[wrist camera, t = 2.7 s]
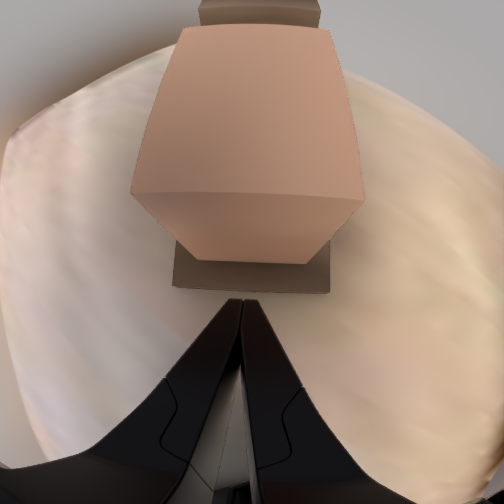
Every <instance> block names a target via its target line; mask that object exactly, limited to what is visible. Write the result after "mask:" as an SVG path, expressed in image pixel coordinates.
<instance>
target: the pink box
mask: <svg viewBox="0 0 504 504" xmlns="http://www.w3.org/2000/svg"><path fill="white" fill-rule="evenodd" d="M130 194H131V195H132V196H133V197H134V198H135V199H136V200H137V201H138V202H139V203H140V204H141V205H142V206H143V207H144V208H145V209H146V210H147V211H148V212H149V213H150V214H151V215H152V216H153V217H154V218H155V219H156V220H157V221H158V222H159V223H160V224H161V225H162V226H163V227H164V228H165V229H166V230H167V231H168V232H169V233H170V234H171V235H172V236H173V237H174V238H175V239H176V240H177V241H178V242H179V243H180V244H182V245H183V246H184V247H185V248H186V249H187V250H188V251H189V252H190V253H191V254H192V255H193V256H194V257H195V258H196V259H197V260H211V261H235V262H260V263H286V264H306V263H307V262H308V261H309V260H310V259H311V258H312V257H313V256H314V255H315V254H316V253H317V252H318V251H319V250H320V249H321V248H322V247H323V246H324V244H325V243H326V242H327V241H328V240H329V239H330V238H331V237H332V236H333V235H334V234H335V233H336V232H337V231H338V229H339V228H340V227H341V226H342V225H343V224H344V223H345V222H346V221H347V220H348V219H349V217H350V216H351V215H352V214H353V213H354V212H355V211H356V210H357V209H358V207H359V206H360V205H361V204H362V203H363V202H364V201H365V196H364V187H363V179H362V172H361V165H360V158H359V152H358V146H357V140H356V134H355V129H354V123H353V118H352V114H351V109H350V104H349V100H348V95H347V91H346V87H345V83H344V79H343V75H342V71H341V67H340V64H339V60H338V57H337V53H336V50H335V47H334V43H333V40H332V37H331V34H330V31H329V30H325V29H318V28H311V27H302V26H291V25H276V24H222V25H207V26H196V27H187V28H184V29H183V31H182V33H181V36H180V38H179V40H178V42H177V45H176V47H175V49H174V52H173V54H172V56H171V59H170V61H169V64H168V66H167V69H166V71H165V74H164V77H163V79H162V82H161V85H160V87H159V90H158V93H157V96H156V99H155V102H154V105H153V108H152V111H151V114H150V117H149V120H148V124H147V127H146V130H145V134H144V137H143V141H142V144H141V148H140V152H139V156H138V160H137V164H136V168H135V172H134V176H133V181H132V185H131V190H130Z"/></svg>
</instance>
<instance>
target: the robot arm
mask: <svg viewBox="0 0 504 504" xmlns="http://www.w3.org/2000/svg"><path fill="white" fill-rule="evenodd" d="M240 365H241V385H242V398H243V411H244V423H245V435H246V446H247V457H248V468H249V478H250V481H249V482H246V483H243V484H240V485H237V486H234V487H226V488H223V489H219V490H216V491H214V489H215V485H216V480H217V476H218V471H219V467H220V462H221V458H222V453H223V448H224V444H225V439H226V435H227V430H228V425H229V421H230V416H231V411H232V406H233V402H234V397H235V392H236V387H237V383H238V378H239V372H240ZM165 377H166V378H163V379H162V380H161V382H160V383H159V384H158V385H157V386H156V388H155V389H154V390H153V391H152V392H151V393H150V394H149V395H148V396H147V398H146V399H145V400H144V401H143V402H142V403H141V404H140V405H139V406H138V407H137V408H136V409H135V410H134V411H132V412H131V413H130V414H129V415H128V416H127V417H126V418H125V419H124V420H123V421H122V422H120V423H119V424H118V425H117V426H116V427H115V428H114V429H113V430H111V431H110V432H109V433H108V434H107V435H106V436H105V437H103V438H102V439H101V440H100V441H99V442H98V443H96V444H95V445H94V446H92V447H91V448H89V449H87V450H85V451H83V452H81V453H79V454H76V455H73V456H69V457H66V458H62V459H58V460H54V461H50V462H46V463H42V464H38V465H33V466H28V467H23V468H16V469H11V468H9V467H7V466H6V465H4V464H2V463H1V462H0V504H417V503H415V502H413V501H411V500H409V499H407V498H405V497H403V496H401V495H399V494H397V493H396V492H394V491H392V490H390V489H388V488H387V487H385V486H383V485H381V484H380V483H378V482H377V481H375V480H374V479H372V478H371V477H370V476H369V475H368V474H366V473H365V472H364V471H363V470H362V469H361V467H360V466H359V465H358V464H357V463H356V462H355V460H354V459H353V458H352V457H351V455H350V454H349V453H348V451H347V450H346V449H345V448H344V446H343V445H342V444H341V443H340V441H339V440H338V439H337V437H336V436H335V435H334V433H333V432H332V431H331V430H330V428H329V427H328V425H327V424H326V423H325V421H324V420H323V418H322V417H321V415H320V414H319V412H318V411H317V409H316V407H315V406H314V404H313V402H312V401H311V399H310V397H309V395H308V393H307V392H306V390H305V388H304V387H303V384H302V383H301V381H300V379H299V377H298V375H297V373H296V371H295V370H294V368H293V366H292V364H291V362H290V360H289V358H288V356H287V355H286V353H285V351H284V349H283V347H282V345H281V343H280V341H279V339H278V338H277V336H276V334H275V332H274V330H273V328H272V326H271V324H270V322H269V320H268V319H267V317H266V315H265V313H264V311H263V309H262V307H261V305H260V303H259V301H258V300H253V299H245V300H244V301H243V300H242V299H232V298H231V299H228V300H227V302H226V303H225V304H224V305H223V307H222V308H221V309H220V310H219V311H218V313H217V314H216V315H215V316H214V318H213V319H212V320H211V321H210V322H209V324H208V325H207V326H206V327H205V329H204V330H203V331H202V332H201V333H200V335H199V336H198V337H197V338H196V339H195V341H194V342H193V343H192V344H191V346H190V347H189V348H188V349H187V350H186V352H185V353H184V354H183V355H182V356H181V358H180V359H179V360H178V361H177V362H176V364H175V365H174V366H173V367H172V368H171V370H170V371H169V372H168V373H167V375H166V376H165ZM464 504H504V488H503V489H501V490H499V491H497V492H496V493H494V494H492V495H490V496H489V497H487V498H478V499H475V500H472V501H469V502H467V503H464Z"/></svg>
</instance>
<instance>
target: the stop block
mask: <svg viewBox="0 0 504 504" xmlns="http://www.w3.org/2000/svg"><path fill="white" fill-rule="evenodd" d="M198 11H199V17H200V23H201V26H207V25H222V24H276V25H291V26H302V27H311V28H318V25H319V19H320V14H321V10H320V7H319V4H318V2H317V0H202V2H201V4H200V6H199V8H198ZM172 286H174V287H178V288H193V289H209V290H227V291H249V292H275V293H314V294H326V293H330V239H329V240H328V241H327V242H326V243H325V244H324V246H323V247H322V248H321V249H320V250H319V251H318V252H317V253H316V254H315V255H314V256H313V257H312V258H311V259H310V260H309V261H308V262H307V263H306V264H286V263H260V262H235V261H211V260H197V259H196V258H195V257H194V256H193V255H192V254H191V253H190V252H189V251H188V250H187V249H186V248H185V247H184V246H183V245H182V244H180V243H179V242H178V241H177V240H176V249H175V259H174V270H173V282H172Z"/></svg>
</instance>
